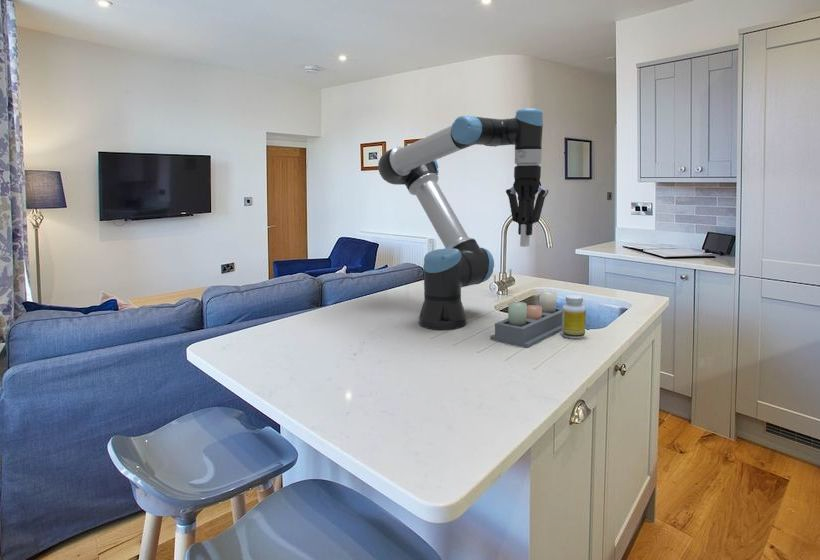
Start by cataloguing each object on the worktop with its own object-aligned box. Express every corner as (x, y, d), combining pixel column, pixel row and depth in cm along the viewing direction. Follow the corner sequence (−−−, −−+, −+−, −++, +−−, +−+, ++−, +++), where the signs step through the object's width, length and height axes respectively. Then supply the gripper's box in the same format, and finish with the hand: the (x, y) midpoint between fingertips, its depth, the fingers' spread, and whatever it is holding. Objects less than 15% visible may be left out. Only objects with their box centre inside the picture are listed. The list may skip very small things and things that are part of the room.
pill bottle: (586, 339, 142) (588, 299, 140) (562, 338, 143) (563, 299, 141) (583, 333, 148) (584, 294, 146) (560, 332, 149) (561, 294, 147)
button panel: (490, 339, 144) (490, 322, 143) (536, 319, 163) (536, 304, 162) (527, 347, 136) (528, 330, 135) (571, 325, 155) (572, 310, 154)
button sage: (504, 324, 142) (505, 304, 141) (514, 321, 146) (514, 300, 145) (520, 327, 139) (520, 306, 138) (529, 324, 142) (530, 303, 141)
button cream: (536, 312, 155) (536, 293, 154) (543, 308, 159) (544, 290, 158) (551, 314, 152) (551, 295, 151) (558, 311, 155) (559, 292, 154)
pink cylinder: (520, 327, 149) (521, 307, 148) (529, 323, 153) (529, 304, 152) (536, 330, 146) (536, 310, 145) (544, 326, 149) (545, 306, 148)
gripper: (501, 165, 147) (499, 245, 151) (541, 164, 138) (538, 249, 143) (514, 165, 152) (512, 243, 157) (554, 164, 143) (550, 246, 148)
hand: (524, 246), depth 150 cm, fingers closed
